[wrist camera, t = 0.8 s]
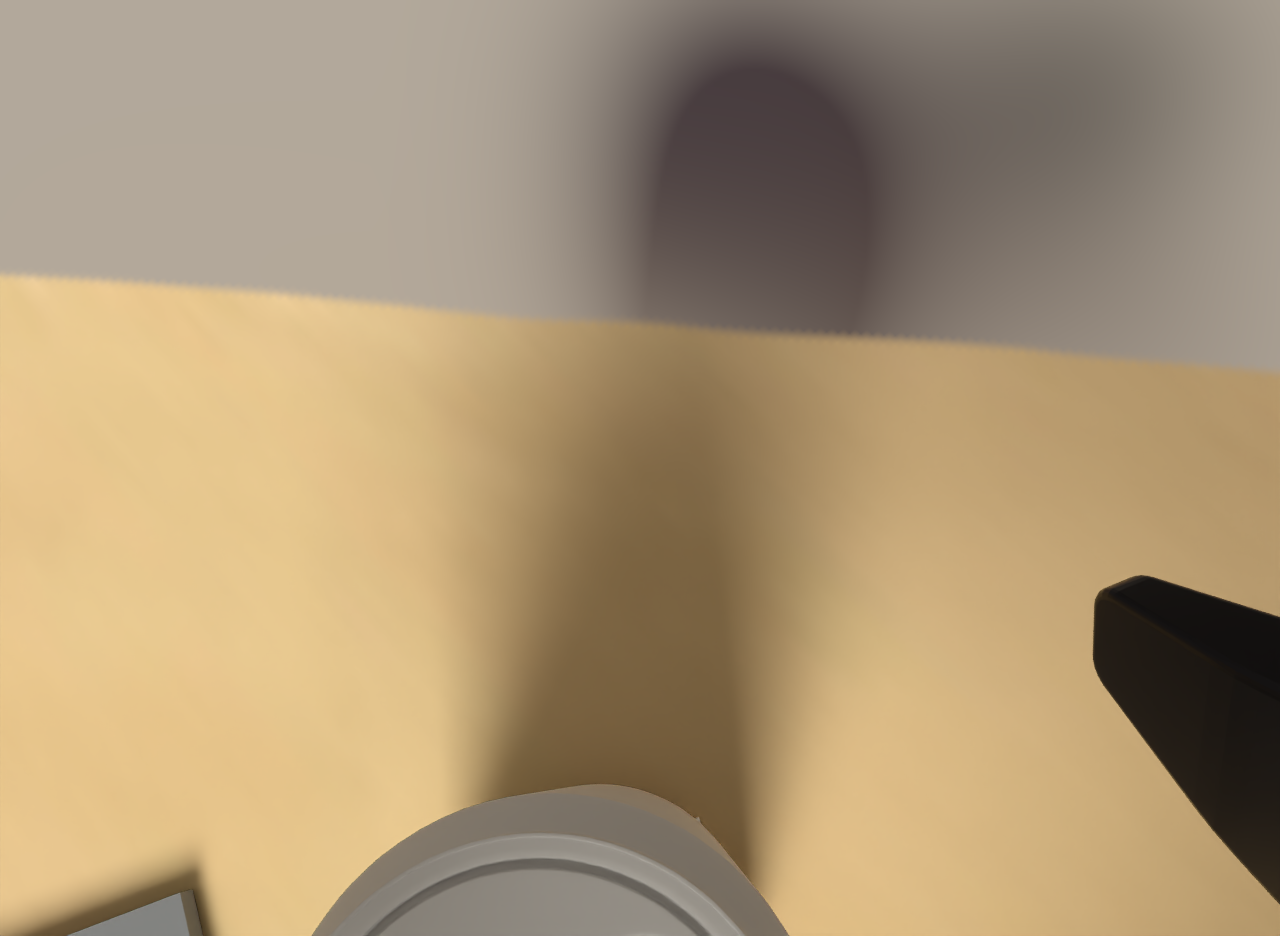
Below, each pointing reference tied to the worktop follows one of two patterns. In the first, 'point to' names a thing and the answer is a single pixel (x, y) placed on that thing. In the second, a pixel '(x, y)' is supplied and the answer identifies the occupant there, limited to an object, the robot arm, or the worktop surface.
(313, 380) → the worktop surface
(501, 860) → the beverage can
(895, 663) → the worktop surface
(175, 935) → the slate mat
